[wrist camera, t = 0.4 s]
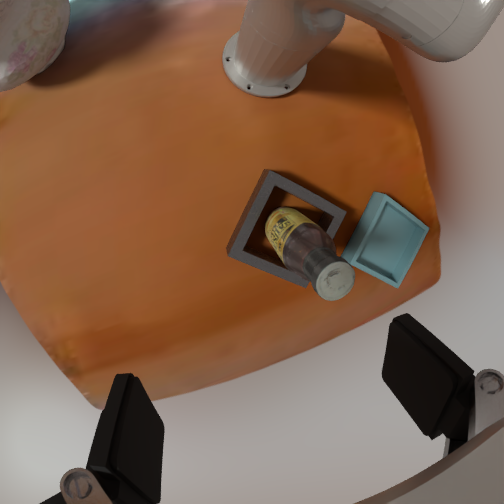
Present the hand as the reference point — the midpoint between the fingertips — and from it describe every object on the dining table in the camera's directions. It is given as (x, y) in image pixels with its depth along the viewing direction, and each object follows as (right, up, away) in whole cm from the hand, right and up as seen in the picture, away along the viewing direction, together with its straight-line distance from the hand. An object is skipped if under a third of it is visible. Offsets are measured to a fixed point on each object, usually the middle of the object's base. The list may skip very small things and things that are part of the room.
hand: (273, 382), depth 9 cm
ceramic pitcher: (-37, +41, +17) cm, 58 cm away
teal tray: (+23, +7, +37) cm, 44 cm away
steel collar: (+4, +8, +34) cm, 35 cm away
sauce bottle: (+4, +8, +34) cm, 35 cm away
